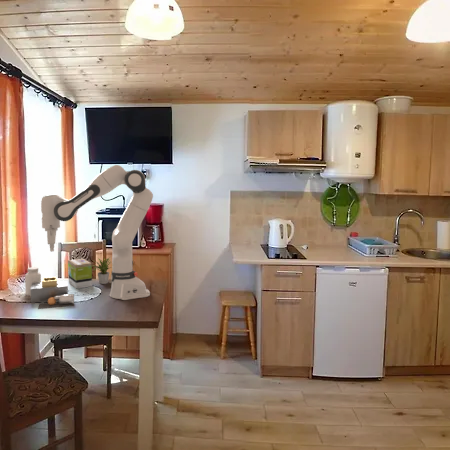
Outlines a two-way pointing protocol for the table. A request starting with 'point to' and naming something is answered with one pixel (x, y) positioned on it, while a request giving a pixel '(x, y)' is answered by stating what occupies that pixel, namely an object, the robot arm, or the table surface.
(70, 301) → the spout can
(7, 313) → the table surface
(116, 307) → the table surface
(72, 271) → the tea box
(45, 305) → the mat
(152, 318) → the table surface
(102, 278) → the house plant
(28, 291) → the pill bottle
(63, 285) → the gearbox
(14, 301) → the table surface
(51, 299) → the bead
